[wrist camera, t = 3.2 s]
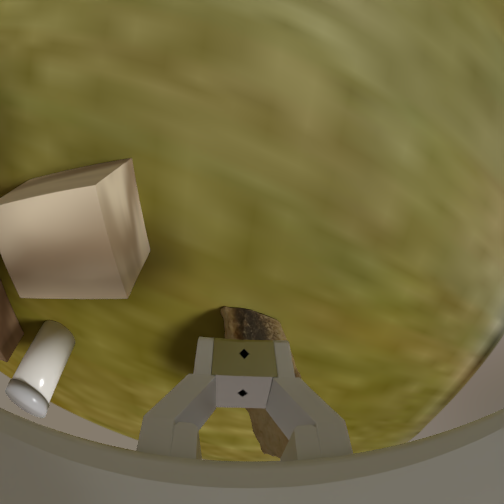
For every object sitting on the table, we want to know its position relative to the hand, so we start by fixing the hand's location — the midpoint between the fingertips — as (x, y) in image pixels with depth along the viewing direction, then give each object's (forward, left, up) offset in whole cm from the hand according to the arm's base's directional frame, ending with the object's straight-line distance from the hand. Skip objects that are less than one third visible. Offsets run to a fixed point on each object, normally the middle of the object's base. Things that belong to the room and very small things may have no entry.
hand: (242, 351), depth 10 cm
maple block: (-1, -10, -9) cm, 14 cm away
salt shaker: (+11, -16, -9) cm, 22 cm away
